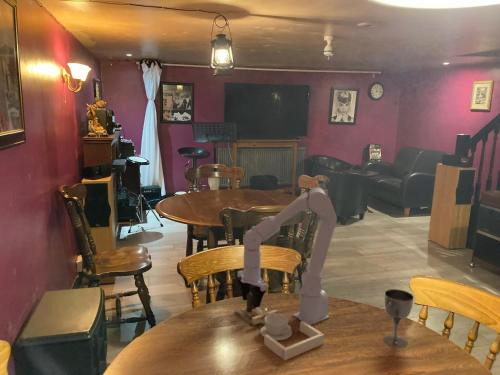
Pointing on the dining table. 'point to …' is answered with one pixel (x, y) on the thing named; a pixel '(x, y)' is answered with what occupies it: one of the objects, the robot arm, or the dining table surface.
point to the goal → (297, 348)
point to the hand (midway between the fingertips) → (251, 303)
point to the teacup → (276, 327)
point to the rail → (246, 315)
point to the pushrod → (255, 311)
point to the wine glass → (397, 313)
